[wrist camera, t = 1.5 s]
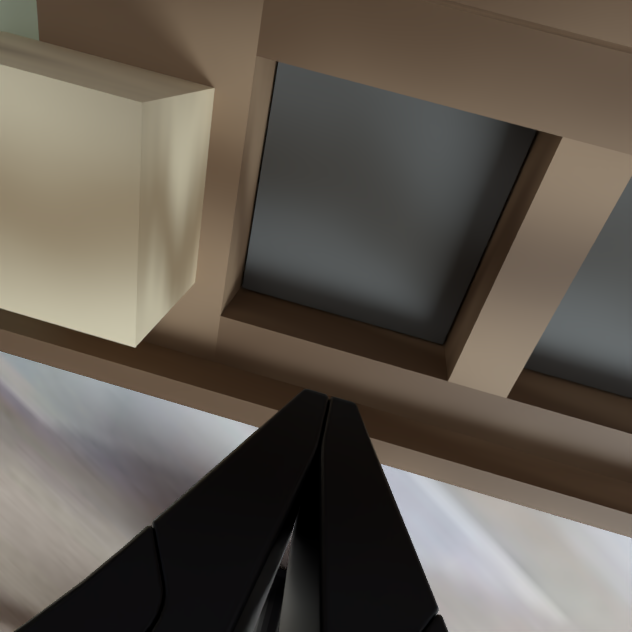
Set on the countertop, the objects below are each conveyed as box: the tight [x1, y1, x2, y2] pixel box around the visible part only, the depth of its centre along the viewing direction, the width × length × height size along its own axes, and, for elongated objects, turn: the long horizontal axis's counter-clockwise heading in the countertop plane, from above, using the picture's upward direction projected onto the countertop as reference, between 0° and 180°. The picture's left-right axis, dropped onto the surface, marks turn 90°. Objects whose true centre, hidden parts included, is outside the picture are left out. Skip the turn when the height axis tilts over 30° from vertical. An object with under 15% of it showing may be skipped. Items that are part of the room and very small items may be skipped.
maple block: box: [0, 31, 215, 347], centre depth 13 cm, size 6×6×4 cm
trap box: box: [0, 0, 632, 538], centre depth 14 cm, size 14×34×6 cm, turn 77°
